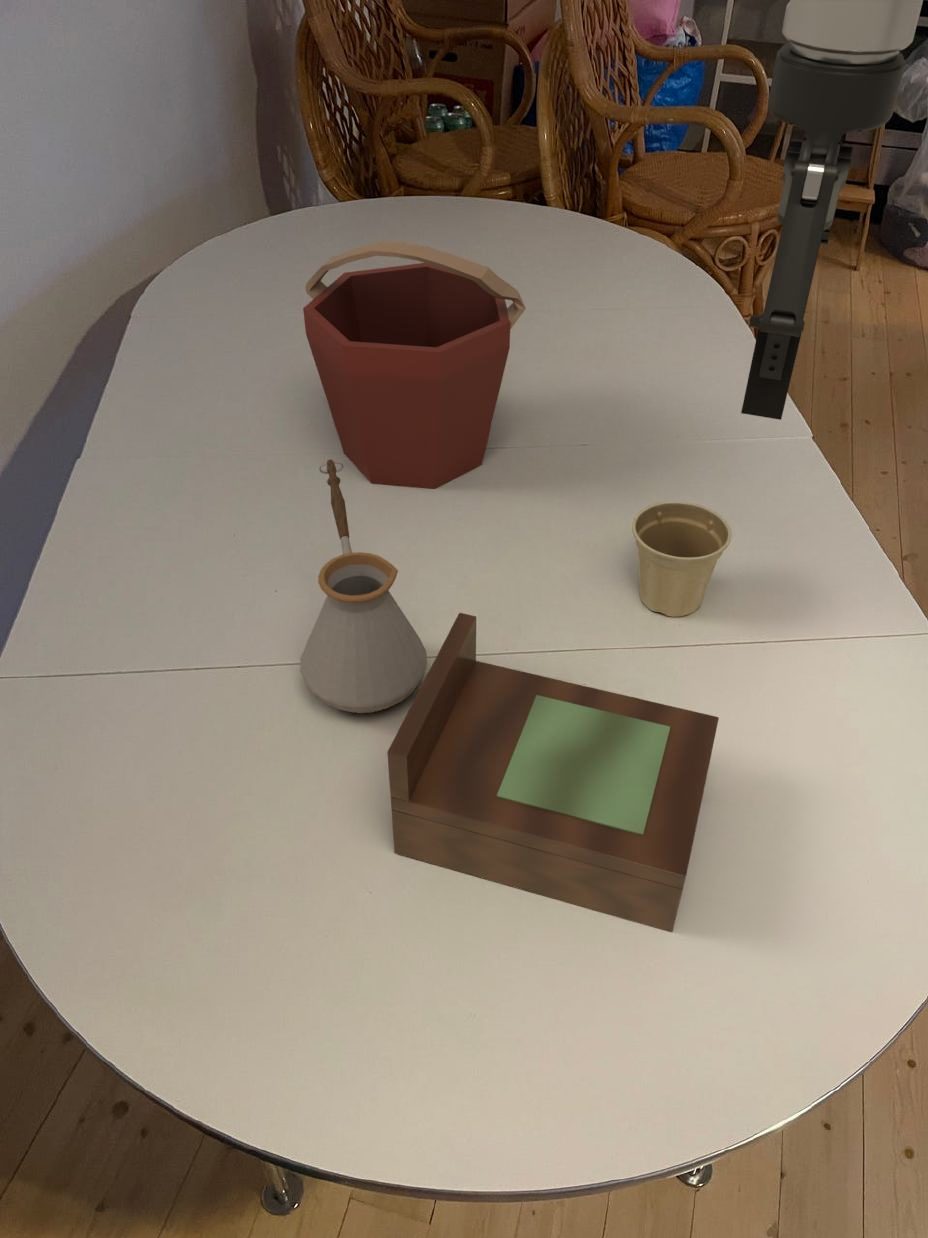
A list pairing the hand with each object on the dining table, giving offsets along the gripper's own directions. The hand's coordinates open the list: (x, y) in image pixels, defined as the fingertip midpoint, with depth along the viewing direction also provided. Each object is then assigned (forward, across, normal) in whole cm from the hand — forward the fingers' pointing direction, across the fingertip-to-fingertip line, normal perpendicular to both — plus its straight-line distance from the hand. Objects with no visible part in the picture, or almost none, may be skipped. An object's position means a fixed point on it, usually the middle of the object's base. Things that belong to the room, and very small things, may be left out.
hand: (771, 369), depth 76 cm
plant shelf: (+31, +20, -9) cm, 38 cm away
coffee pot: (+32, +7, -32) cm, 46 cm away
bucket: (+32, -27, -39) cm, 57 cm away
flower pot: (+31, -10, -5) cm, 33 cm away
